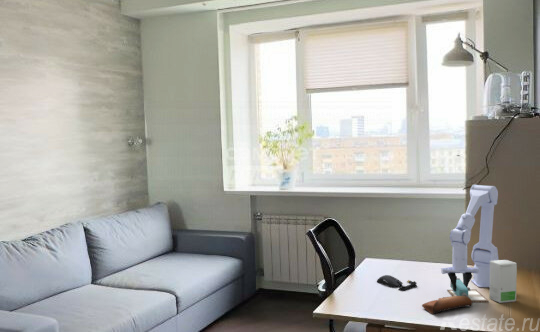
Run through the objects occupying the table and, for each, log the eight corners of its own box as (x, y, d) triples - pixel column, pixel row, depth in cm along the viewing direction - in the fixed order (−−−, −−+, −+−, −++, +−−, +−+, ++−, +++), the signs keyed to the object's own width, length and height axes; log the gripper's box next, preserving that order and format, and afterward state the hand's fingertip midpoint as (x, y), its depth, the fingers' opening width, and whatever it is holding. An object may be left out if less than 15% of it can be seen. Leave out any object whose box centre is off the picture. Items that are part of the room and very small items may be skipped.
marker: (450, 286, 220) (450, 278, 219) (459, 286, 220) (459, 278, 219) (461, 301, 206) (462, 293, 205) (470, 301, 206) (471, 293, 205)
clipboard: (447, 291, 220) (447, 287, 220) (476, 290, 220) (476, 287, 220) (458, 302, 206) (458, 298, 206) (488, 302, 206) (488, 298, 206)
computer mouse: (393, 277, 242) (393, 269, 242) (422, 287, 228) (422, 278, 227) (373, 282, 236) (373, 273, 236) (401, 292, 221) (401, 283, 221)
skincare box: (499, 303, 204) (499, 264, 203) (488, 298, 210) (488, 260, 209) (517, 301, 206) (517, 262, 205) (505, 295, 213) (506, 258, 211)
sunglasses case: (456, 297, 208) (463, 287, 204) (467, 312, 203) (474, 302, 199) (419, 305, 201) (426, 294, 197) (429, 320, 196) (436, 309, 192)
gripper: (444, 260, 209) (444, 293, 210) (481, 260, 208) (481, 293, 209) (439, 256, 216) (439, 288, 217) (475, 255, 215) (474, 287, 216)
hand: (459, 290), depth 214 cm, fingers closed on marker, 4 cm apart
